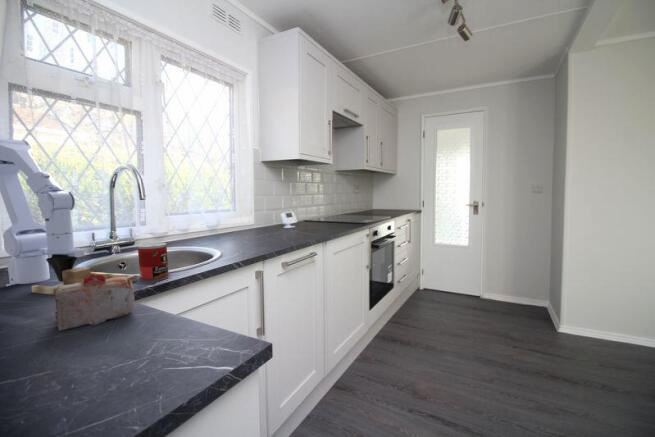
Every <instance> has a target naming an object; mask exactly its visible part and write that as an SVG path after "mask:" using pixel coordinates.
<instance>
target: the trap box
mask: <svg viewBox="0 0 655 437" xmlns="http://www.w3.org/2000/svg"><path fill="white" fill-rule="evenodd" d="M91 275H103V276H104V277H105V279H110V278H117V277H122V276H126V277H127V278H128V279H129V280H130V281H131V282H132V283H134V282H137V281H138V276H137V274H129V273H128V274H127V273H112V272H98V271H96V272H95V271H91ZM59 286H63V283H59V284H56V285H53V286H50V285H49V286H47V285H38V284H36V285H32V286H31V292H32V293H33V294H34V293H35V294H46V295H54V296H55V294H54V290H55V289H56V288H58V287H59Z"/></svg>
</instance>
